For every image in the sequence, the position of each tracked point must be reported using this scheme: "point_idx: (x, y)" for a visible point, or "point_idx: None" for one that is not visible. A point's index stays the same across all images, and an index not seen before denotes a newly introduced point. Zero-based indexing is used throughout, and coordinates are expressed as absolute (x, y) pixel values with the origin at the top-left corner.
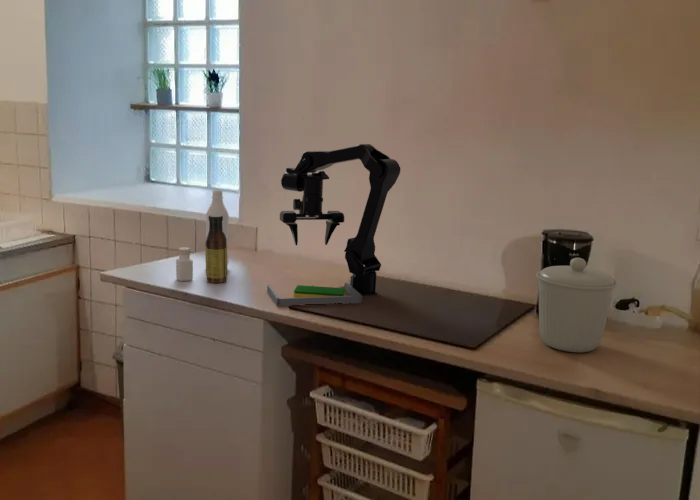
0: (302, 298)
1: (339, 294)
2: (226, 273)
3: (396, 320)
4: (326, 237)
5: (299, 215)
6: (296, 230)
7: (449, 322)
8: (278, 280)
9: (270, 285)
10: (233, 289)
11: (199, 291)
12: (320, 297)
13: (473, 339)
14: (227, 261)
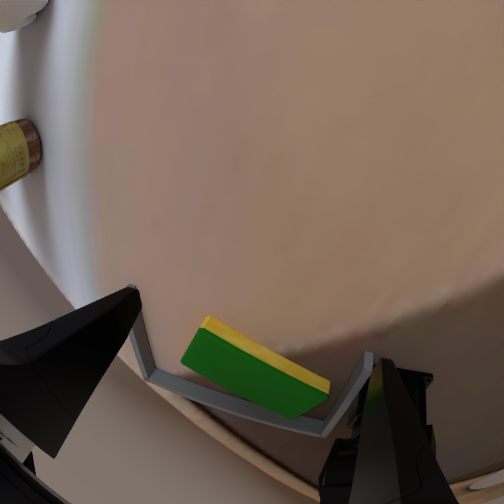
0: (191, 398)
1: (283, 416)
2: (23, 169)
3: (322, 466)
4: (367, 432)
5: (13, 499)
6: (72, 413)
7: None
8: (171, 165)
9: None
10: (62, 231)
11: (22, 223)
12: (229, 412)
13: None
14: (29, 4)
